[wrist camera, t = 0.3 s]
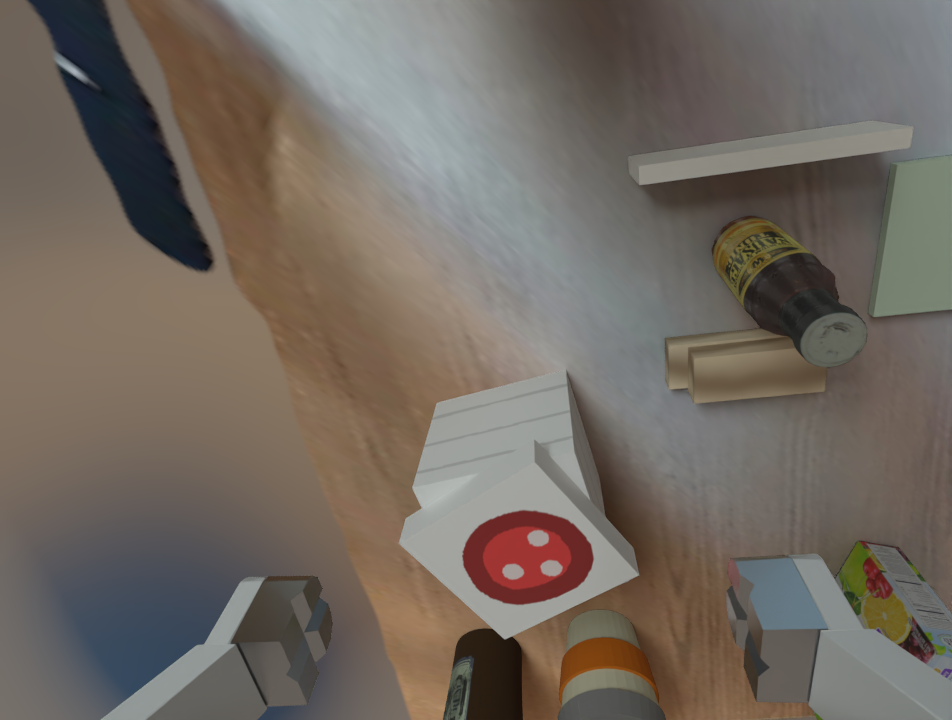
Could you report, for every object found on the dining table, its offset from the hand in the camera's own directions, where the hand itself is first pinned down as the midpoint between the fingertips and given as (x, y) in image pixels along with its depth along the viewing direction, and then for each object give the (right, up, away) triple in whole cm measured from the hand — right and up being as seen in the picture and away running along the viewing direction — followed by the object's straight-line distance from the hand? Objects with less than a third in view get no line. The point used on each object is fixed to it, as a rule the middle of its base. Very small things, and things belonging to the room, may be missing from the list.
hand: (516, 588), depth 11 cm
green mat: (+41, +16, +41) cm, 60 cm away
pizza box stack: (+6, -9, +57) cm, 58 cm away
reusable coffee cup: (+16, -33, +68) cm, 77 cm away
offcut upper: (+26, +4, +46) cm, 53 cm away
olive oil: (+1, -37, +71) cm, 80 cm away
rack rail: (+23, +23, +39) cm, 50 cm away
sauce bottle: (+24, +15, +43) cm, 51 cm away
